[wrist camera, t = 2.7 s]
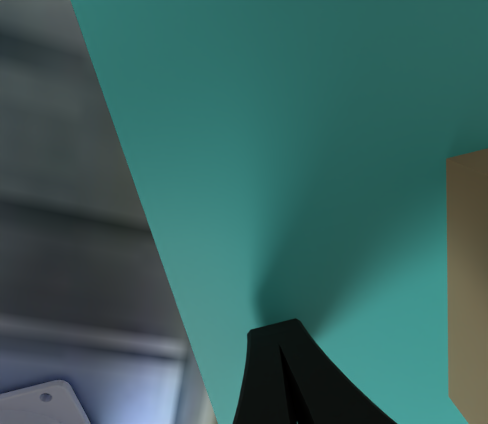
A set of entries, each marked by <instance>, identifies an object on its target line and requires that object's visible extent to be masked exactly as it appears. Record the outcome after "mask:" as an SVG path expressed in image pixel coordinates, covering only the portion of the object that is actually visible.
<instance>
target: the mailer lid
mask: <svg viewBox="0 0 488 424" xmlns="http://www.w3.org/2000/svg"><path fill="white" fill-rule="evenodd" d="M71 3H72V6H73V9H74V12H75V14H76V17H77V20H78V23H79V26H80V29H81V32H82V35H83V37H84V40H85V43H86V46H87V49H88V52H89V55H90V57H91V60H92V63H93V66H94V69H95V72H96V75H97V78H98V80H99V83H100V86H101V89H102V92H103V95H104V98H105V100H106V103H107V106H108V109H109V112H110V115H111V118H112V121H113V123H114V126H115V129H116V132H117V135H118V138H119V141H120V143H121V146H122V149H123V152H124V155H125V158H126V161H127V164H128V166H129V169H130V172H131V175H132V178H133V181H134V184H135V186H136V189H137V192H138V195H139V198H140V201H141V204H142V206H143V209H144V212H145V215H146V218H147V221H148V224H149V227H150V229H151V232H152V235H153V238H154V241H155V244H156V247H157V249H158V252H159V255H160V258H161V261H162V264H163V267H164V270H165V272H166V275H167V278H168V281H169V284H170V287H171V290H172V292H173V295H174V298H175V301H176V304H177V307H178V310H179V313H180V315H181V318H182V321H183V324H184V327H185V330H186V333H187V335H188V338H189V341H190V344H191V347H192V350H193V353H194V356H195V358H196V361H197V364H198V367H199V370H200V373H201V376H202V378H203V381H204V384H205V387H206V390H207V393H208V396H209V399H210V401H211V404H212V407H213V410H214V413H215V416H216V419H217V421H218V424H233V420H234V416H235V412H236V409H237V405H238V400H239V395H240V390H241V385H242V380H243V375H244V369H245V362H246V353H247V333H248V332H249V331H250V330H251V329H255V328H259V327H263V326H267V325H271V324H275V323H278V322H282V321H286V320H290V319H294V318H296V319H298V320H300V321H301V322H302V324H303V326H304V327H305V329H306V330H307V331H308V333H309V334H310V335H311V337H312V338H313V339H314V341H315V342H316V343H317V344H318V346H319V347H320V348H321V349H322V350H323V352H324V353H325V354H326V355H327V356H328V357H329V358H330V359H331V361H332V362H333V363H334V364H335V365H336V366H337V367H338V368H339V369H340V370H341V371H342V372H343V373H344V374H345V375H346V377H347V378H348V379H349V380H350V381H351V382H352V383H353V384H354V385H355V386H356V387H357V388H358V389H360V390H361V391H362V392H363V393H364V394H365V395H366V396H367V397H368V398H369V399H370V400H371V401H372V402H373V403H374V404H376V405H377V406H378V407H379V408H380V409H381V410H382V411H383V412H384V413H386V414H387V415H388V416H389V417H390V418H391V419H393V420H394V421H395V422H396V423H397V424H488V0H71ZM297 424H298V422H297Z"/></svg>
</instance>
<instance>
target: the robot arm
mask: <svg viewBox="0 0 488 424" xmlns="http://www.w3.org/2000/svg"><path fill="white" fill-rule="evenodd" d="M45 393H48V394H50V395H47V394H45ZM297 422H298V424H397V423H396V422H395V421H394V420H393V419H391V418H390V417H389V416H388V415H387V414H386V413H384V412H383V411H382V410H381V409H380V408H379V407H378V406H377V405H376V404H374V403H373V402H372V401H371V400H370V399H369V398H368V397H367V396H366V395H365V394H364V393H363V392H362V391H361V390H360V389H358V388H357V387H356V386H355V385H354V384H353V383H352V382H351V381H350V380H349V379H348V378H347V377H346V375H345V374H344V373H343V372H342V371H341V370H340V369H339V368H338V367H337V366H336V365H335V364H334V363H333V362H332V361H331V359H330V358H329V357H328V356H327V355H326V354H325V353H324V352H323V350H322V349H321V348H320V347H319V346H318V344H317V343H316V342H315V341H314V339H313V338H312V337H311V335H310V334H309V333H308V331H307V330H306V329H305V327H304V326H303V324H302V322H301V321H300V320H298V319H296V318H294V319H290V320H286V321H282V322H278V323H275V324H271V325H267V326H263V327H259V328H255V329H251V330H250V331H249V332H248V333H247V353H246V362H245V369H244V375H243V380H242V385H241V390H240V395H239V400H238V405H237V409H236V412H235V416H234V420H233V424H297ZM0 424H91V423H90V421H89V419H88V417H87V415H86V414H85V412H84V410H83V408H82V406H81V404H80V402H79V401H78V399H77V397H76V395H75V393H74V391H73V389H72V387H71V386H70V385H69V383H68V382H66V381H63V380H54V381H51V382H47V383H43V384H39V385H35V386H31V387H27V388H23V389H19V390H15V391H11V392H7V393H3V394H0Z"/></svg>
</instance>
